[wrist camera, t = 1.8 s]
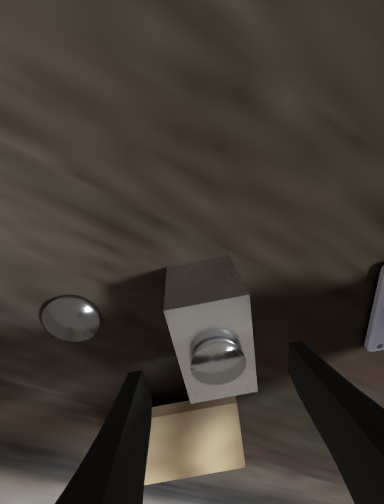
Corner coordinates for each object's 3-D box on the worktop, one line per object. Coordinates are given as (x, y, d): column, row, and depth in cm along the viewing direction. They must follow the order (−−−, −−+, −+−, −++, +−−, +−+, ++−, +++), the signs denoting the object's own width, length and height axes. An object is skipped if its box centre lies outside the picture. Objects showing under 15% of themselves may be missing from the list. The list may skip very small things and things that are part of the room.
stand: (230, 378, 19) (236, 402, 17) (239, 442, 23) (245, 467, 21) (114, 399, 19) (108, 425, 17) (144, 459, 23) (142, 485, 21)
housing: (228, 254, 14) (253, 302, 9) (238, 335, 17) (261, 402, 12) (166, 266, 14) (162, 320, 10) (187, 344, 17) (191, 415, 12)
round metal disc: (92, 287, 15) (88, 294, 14) (109, 328, 16) (106, 337, 15) (39, 296, 15) (31, 304, 14) (60, 337, 16) (55, 345, 15)
